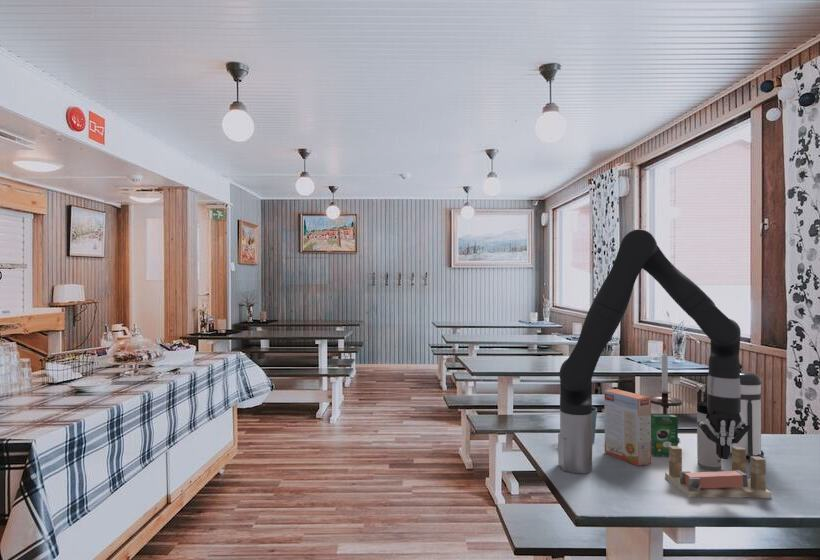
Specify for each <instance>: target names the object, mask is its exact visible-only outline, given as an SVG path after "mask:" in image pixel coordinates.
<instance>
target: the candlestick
mask: <svg viewBox="0 0 820 560" xmlns="http://www.w3.org/2000/svg"><path fill="white" fill-rule="evenodd" d="M662 345H663V352H662V354H661V390H659V391H658V393H661V395H655V396H653V395H651V396H650V397H651V404H652V405H656V406H661V407H662V415H668V408H670V407H679V406H680V407H681V406H682V405H683V400H682V399H680V398H676V397H671V396H669V394H672V392H671V391H668V389H669V385H668V384H669V382H668V381H669V377H668V376H669V374H668V366H669V364H668V363H669V362H668V360H669V359H668V354H667V353H666V349H667V346H666V342H665V341H663V344H662ZM679 443H680V438H679V437H678V444H679Z"/></svg>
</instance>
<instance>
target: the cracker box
mask: <svg viewBox="0 0 820 560" xmlns="http://www.w3.org/2000/svg"><path fill="white" fill-rule="evenodd" d="M651 414H652V403H651V396H646V395H643V394H642V395H641V394H638V393H634V392H629V391H627V390H622V389H618V388H613V389H605V390H604V453H605V452H606V454H608V455H611V456H612V457H615V458H618V459H621V460H623V461H625V462H627V463H630V464H633V465H634V466H637V467H640V466H646V465H651V464H652V455H651Z"/></svg>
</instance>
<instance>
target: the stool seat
mask: <svg viewBox="0 0 820 560" xmlns="http://www.w3.org/2000/svg"><path fill="white" fill-rule="evenodd" d="M682 449H683V448H682V447H679V446H669V456H668V472H667V471H664V475H665V476H664V478H665V479H667V481H669V482H670V483H671V484H673V486H675V487H676V488H677V489H679V490H680V491H681V492H682V493H683V494H685V495H686V496H687V497H688V498H727V497H729V499H730V497H752V498H751V499H771V498H772V491H770V490H768V489H767V480H766V478H767V477H766V475H767V471H766V469H767V468H766V466H767V465H766V464H767V463H766V459H765V458H763V457H762V456H757V455H755V456H750V464H749V465H750V466H749V467H750V469H749V471H750V474H749V475H750V477H749V478H748V477H747V484H748V487H721V488H700V478H689V487H688V486H687V485H686V484H685V473H693V472H691V471H687V470H685V471H683V450H682ZM735 470H740V471H741V472H743V473H745V474H746V475H747V458H746V449H744V448H742V447H732V454H731V471H735ZM753 497H754V498H753ZM756 497H757V498H756Z"/></svg>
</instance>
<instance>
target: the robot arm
mask: <svg viewBox="0 0 820 560" xmlns="http://www.w3.org/2000/svg"><path fill="white" fill-rule="evenodd" d="M618 248H619V249H617V250H618V251H617V253H616V256H615V259H614V262H613V264H612V267H611V269H610V270H609V273H608V274H607V276H606V278H605V280H604V281H603V282H602V284H601V286H600V288H599V290H598V292H597V294H596V296H595V297H594V299H593V301H592V303H591V305H590V307H589V308H588V309H589V310H588V311H587V314H586V316H585V319H584V322H583V324H582V327H581V331H580V334H579V337H578V340H577V342H576V345H575V346H574V348H573V349H572V351H571V353H570V354H569V356H568V358H567V359H566V360H564V361H563V362H562V363H561V366H560V369H559V374H558V375H559V380H560V381H559V382H560V383H559V386H560V387H559V389H560V391H559V433H558V435H557V440H558V441H557V443H558V444H557V446H558V447H557V449H558V450H557V453H558V456H557V457H558V458H557V459H558V462H557V463H558V466H559V467H560V468H561V469H562V471H563V472H569V473H573V474H589V473H591V472H592V471H593V444H592V406H593V395H592V393H593V387H592V386H593V385H592V381H593V380H592V379H593V376H594V372H595V370H596V367H597V364H598V362H599V359H600V357H601V355H602V353H603V351H605V348H606V347H607V345H608V344H609V342H610V340H611V339H612V337H613V336H614V334H615V332H616V331H617V329H618V327H619V325H620V323H621V321H622V319H623V318H624V315H625V313H626V312H627V311H626V310H627V308H628V306H629V303H630V300H631V297H632V293H633V289H634V286H635V283H636V281H637V278H638V276H639V275H640V273H641V271H642V270H644V271H645V272H647V274H649V275H650V276H651V277H652V278H653V279H654V280H655V281H656V282H657V283H659V285H660V286H661V287H662V288H663V289H664V291H665V292H666V293H667V295H669V297H670V298H672V300H673V301H674V302H675V303H676V304H677V305H678V306H679V307H680V308H681V310H683V312H685V313H686V314H687V315H688V316H689V317H690V318H691V319H692V320H693V321H695V323H696V325H697V326H698V327H699V328H700V330H701V331H702V332H703V333H704V334H705V336H707V338H708V339H709V340H710V354H709V357H708V358H709V359H708V375H707V376H708V377H707V383H706V384H707V386H706V393H707V395H706V401H707V409H708V413H707V415H706V419H705V420H704V421H702V422H700V421H699V422H698V423H697V422H696V425H697V424H698V426H699V427H700V428H701V430H702V431H703V432H704V433H705V435H706V436H707V437H708V439H709V440H711V441H713V442H715V443H716V454H717V455H718V457H719V458H721V460H729V458H730V456H731V453H730V445H731V444H733V443H738V442H739V441H740V440H741V438H742V437H743V436H744V435H745V434H746V432H747V431H748V430H749V429H750V426H749V425H747V424H745V423H744V422H743V421H741V417H740V412H741V385H740V370H741V369H740V364H741V363H740V347H741V328H740V325H739V324H738V323H737V322H736V320H733V319H731V318H729V317H728V316H727V315H726V314H725V313H723V312H722V311H721V310H720V309H719V308H718V307H717V306H716V304H715V302H714V301H713V300H712V298H711V297H709V296H708V295H707V294H706V293H705V292H704V291H703V290H702V289H701V288H700V287H699V286H698V285H697V284H696V283H695V282H693V281H692V279H690V278H689V277H687V276H686V275H685V274H684V273H683V272H682V271H680V270H679V269H678V268H677V267H676V266H675V265H674V264H673V263H672V262H671V261H670V260H669V259H668V258H667V256H666V255H665V254H664V252H663V251H662V250H661V249H660V247H659V246H658V243H657V240H656V238H655V237H654V236H653V234H652V233H650V232H649V231H648V230H646V229H641V228H637V229H634V230H633V229H632V230H631V231H629V232H628V233H627V234H625V235H624V237H623V238H622V240H621V241H620V245H619V247H618ZM709 423H710V425H711V426H712V428H713V431H714V434H715V435H714V434H713V433H712V431H711V430H710V429H709V428H710V425H709ZM736 427H737V428H736ZM735 428H736V429H735Z"/></svg>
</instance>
